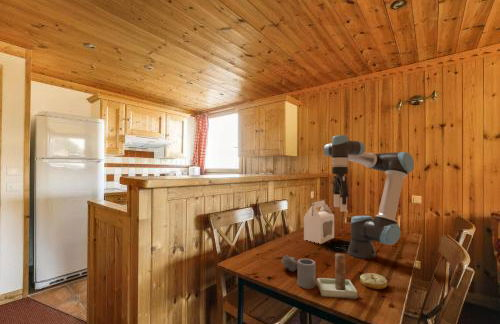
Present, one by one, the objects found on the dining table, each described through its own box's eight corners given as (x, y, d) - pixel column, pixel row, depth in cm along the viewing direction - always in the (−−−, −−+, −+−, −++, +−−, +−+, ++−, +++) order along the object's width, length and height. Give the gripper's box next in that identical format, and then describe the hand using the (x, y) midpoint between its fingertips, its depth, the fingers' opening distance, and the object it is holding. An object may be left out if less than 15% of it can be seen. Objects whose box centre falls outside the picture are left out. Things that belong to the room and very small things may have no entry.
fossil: (305, 271, 122) (305, 255, 122) (293, 277, 116) (293, 260, 116) (288, 265, 130) (288, 250, 130) (276, 269, 124) (276, 253, 125)
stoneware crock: (313, 281, 112) (313, 259, 112) (316, 289, 104) (316, 265, 105) (296, 280, 113) (297, 258, 113) (298, 287, 105) (298, 264, 105)
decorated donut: (358, 278, 116) (358, 270, 116) (384, 281, 113) (383, 273, 113) (362, 288, 106) (362, 279, 106) (389, 292, 103) (389, 283, 103)
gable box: (318, 234, 193) (318, 198, 193) (334, 237, 184) (334, 200, 184) (303, 240, 176) (303, 201, 177) (320, 244, 167) (320, 203, 168)
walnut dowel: (343, 287, 105) (347, 254, 105) (346, 292, 101) (350, 257, 101) (330, 285, 105) (334, 252, 106) (332, 289, 101) (336, 255, 102)
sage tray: (349, 285, 108) (349, 279, 108) (357, 298, 97) (357, 292, 97) (317, 283, 109) (317, 277, 110) (321, 296, 99) (321, 289, 99)
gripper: (327, 166, 135) (327, 205, 134) (338, 166, 110) (338, 213, 109) (341, 166, 134) (341, 205, 133) (355, 166, 109) (355, 213, 108)
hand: (340, 209), depth 121 cm, fingers open, 13 cm apart
